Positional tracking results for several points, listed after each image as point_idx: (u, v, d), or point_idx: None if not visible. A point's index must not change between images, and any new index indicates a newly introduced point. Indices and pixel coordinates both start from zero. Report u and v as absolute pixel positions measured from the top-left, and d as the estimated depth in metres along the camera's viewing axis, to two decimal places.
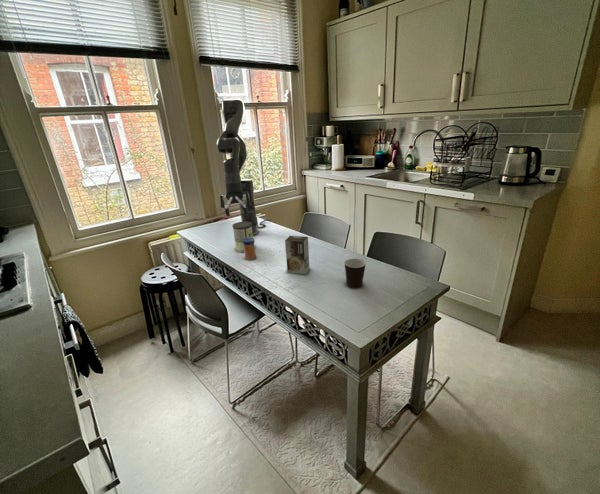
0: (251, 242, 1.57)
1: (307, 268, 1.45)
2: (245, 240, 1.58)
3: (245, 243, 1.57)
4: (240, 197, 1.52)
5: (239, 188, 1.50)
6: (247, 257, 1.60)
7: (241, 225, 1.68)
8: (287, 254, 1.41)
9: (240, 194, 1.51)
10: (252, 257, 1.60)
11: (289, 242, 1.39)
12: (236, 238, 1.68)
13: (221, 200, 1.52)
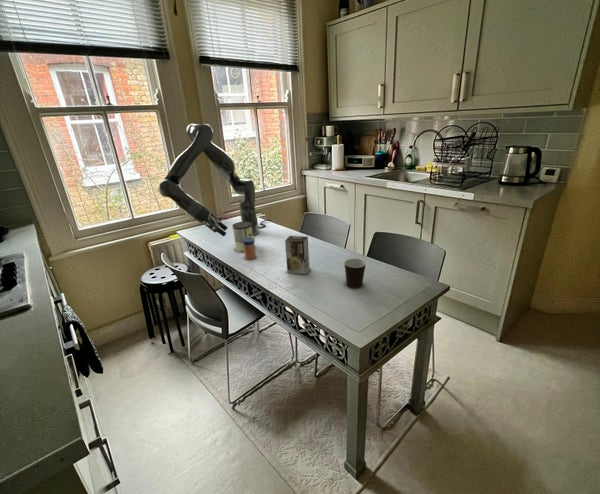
0: (251, 242, 1.57)
1: (307, 268, 1.45)
2: (245, 240, 1.58)
3: (245, 243, 1.57)
4: None
5: (200, 220, 1.48)
6: (247, 257, 1.60)
7: (241, 225, 1.68)
8: (287, 254, 1.41)
9: None
10: (252, 257, 1.60)
11: (289, 242, 1.39)
12: (236, 238, 1.68)
13: None
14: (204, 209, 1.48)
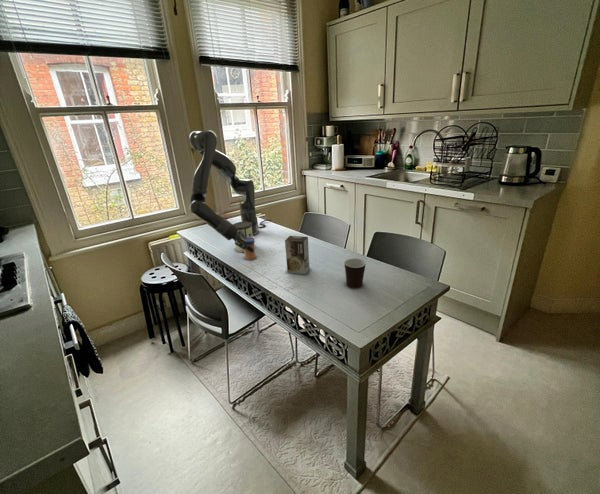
0: (251, 242, 1.57)
1: (307, 268, 1.45)
2: (245, 240, 1.58)
3: None
4: None
5: (228, 237, 1.54)
6: (247, 257, 1.60)
7: (241, 225, 1.68)
8: (287, 254, 1.41)
9: (234, 239, 1.55)
10: (252, 257, 1.60)
11: (289, 242, 1.39)
12: None
13: None
14: (232, 227, 1.53)
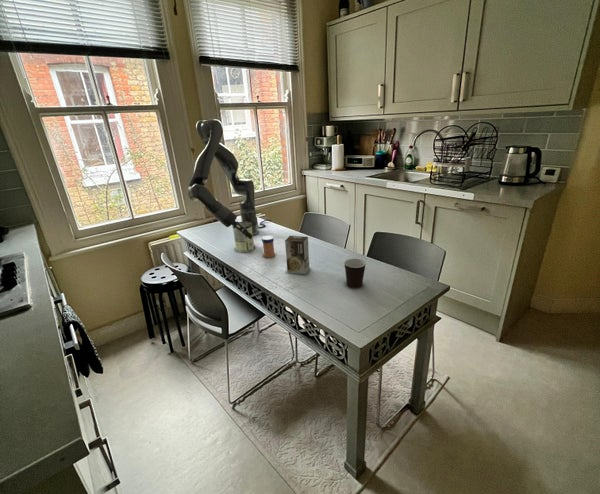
0: (271, 240, 1.58)
1: (307, 268, 1.45)
2: (264, 238, 1.59)
3: (265, 241, 1.58)
4: (236, 227, 1.53)
5: (228, 223, 1.51)
6: (266, 255, 1.62)
7: None
8: (287, 254, 1.41)
9: (234, 225, 1.52)
10: (271, 255, 1.62)
11: (289, 242, 1.39)
12: (236, 238, 1.68)
13: (233, 226, 1.62)
14: (232, 213, 1.52)
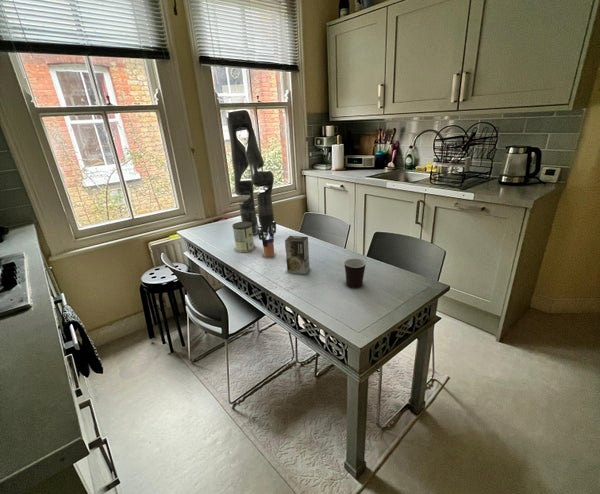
0: (271, 240, 1.58)
1: (307, 268, 1.45)
2: None
3: None
4: (271, 225, 1.60)
5: None
6: (266, 255, 1.62)
7: (241, 225, 1.68)
8: (287, 254, 1.41)
9: (271, 222, 1.59)
10: (271, 255, 1.62)
11: (289, 242, 1.39)
12: (236, 238, 1.68)
13: (262, 233, 1.53)
14: None
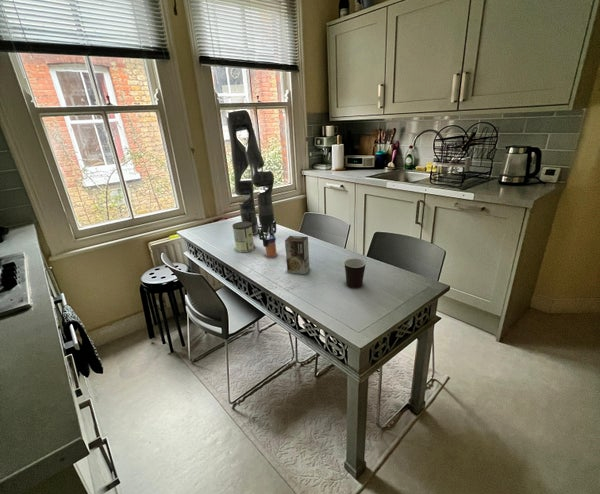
0: None
1: (307, 268, 1.45)
2: (271, 237, 1.59)
3: (274, 239, 1.59)
4: (272, 225, 1.60)
5: None
6: (269, 255, 1.62)
7: (241, 225, 1.68)
8: (287, 254, 1.41)
9: (272, 222, 1.60)
10: (274, 254, 1.62)
11: (289, 242, 1.39)
12: (236, 238, 1.68)
13: (263, 233, 1.53)
14: None
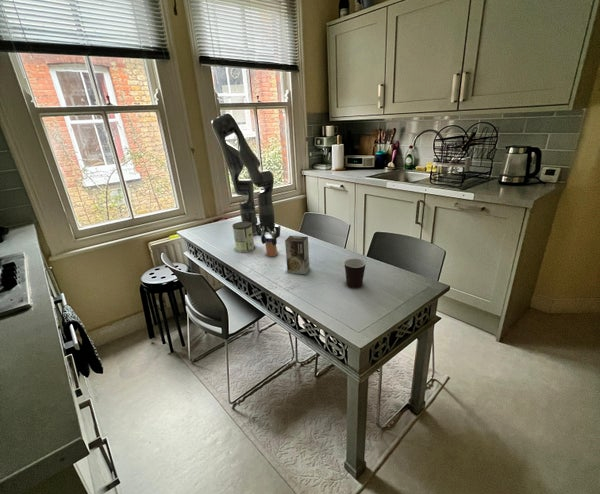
0: None
1: (307, 268, 1.45)
2: None
3: None
4: None
5: None
6: (271, 254, 1.62)
7: (241, 225, 1.68)
8: (287, 254, 1.41)
9: None
10: (276, 253, 1.64)
11: (289, 242, 1.39)
12: (236, 238, 1.68)
13: None
14: (259, 217, 1.54)
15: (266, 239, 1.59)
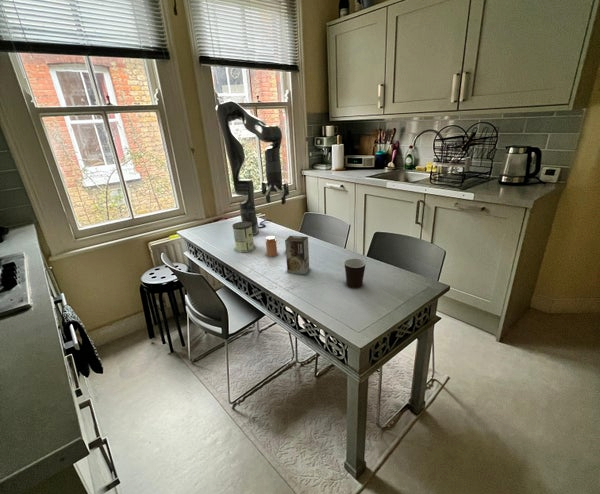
0: None
1: (307, 268, 1.45)
2: None
3: None
4: None
5: None
6: (272, 254, 1.62)
7: (241, 225, 1.68)
8: (287, 254, 1.41)
9: None
10: (276, 253, 1.64)
11: (289, 242, 1.39)
12: (236, 238, 1.68)
13: None
14: (267, 175, 1.51)
15: None
